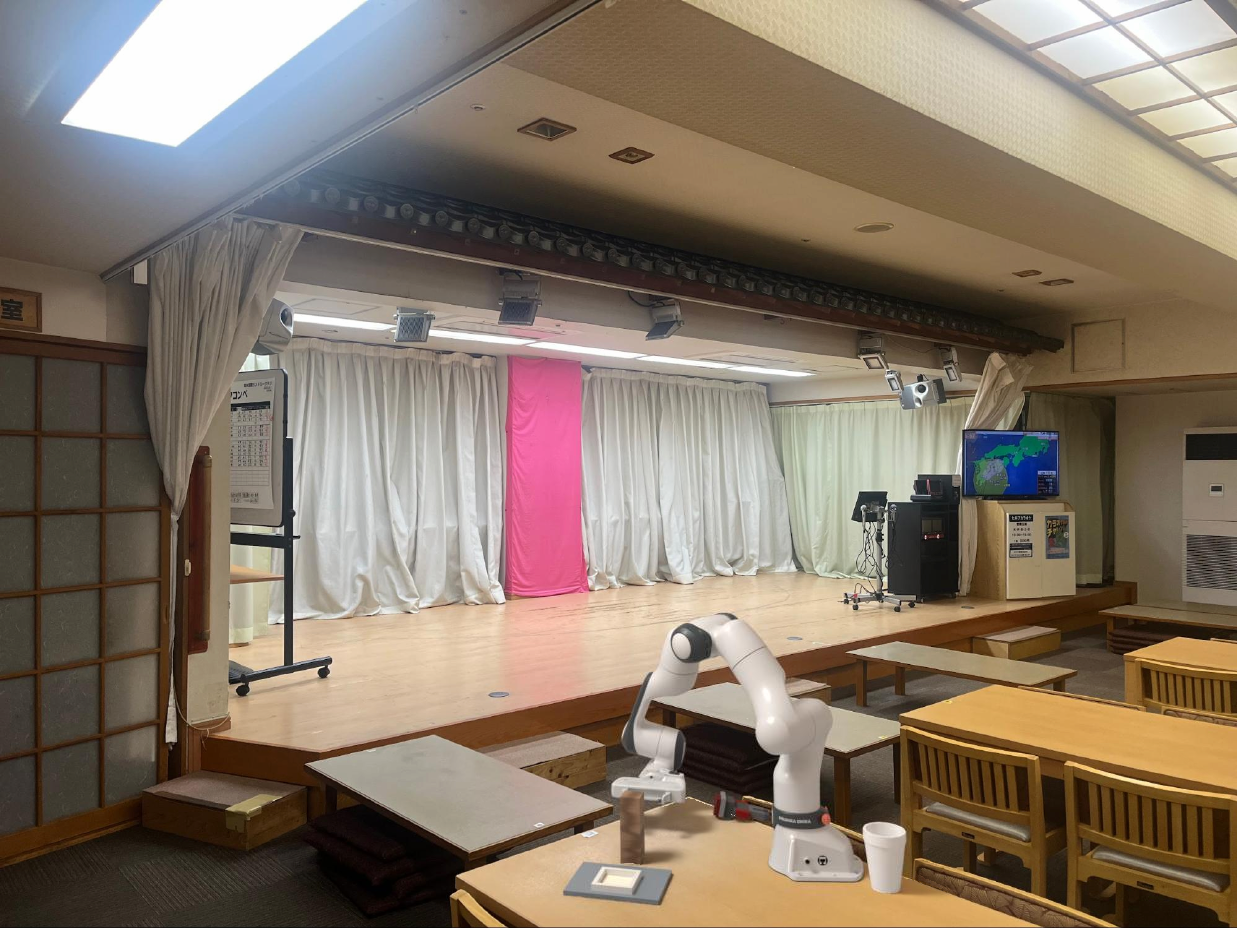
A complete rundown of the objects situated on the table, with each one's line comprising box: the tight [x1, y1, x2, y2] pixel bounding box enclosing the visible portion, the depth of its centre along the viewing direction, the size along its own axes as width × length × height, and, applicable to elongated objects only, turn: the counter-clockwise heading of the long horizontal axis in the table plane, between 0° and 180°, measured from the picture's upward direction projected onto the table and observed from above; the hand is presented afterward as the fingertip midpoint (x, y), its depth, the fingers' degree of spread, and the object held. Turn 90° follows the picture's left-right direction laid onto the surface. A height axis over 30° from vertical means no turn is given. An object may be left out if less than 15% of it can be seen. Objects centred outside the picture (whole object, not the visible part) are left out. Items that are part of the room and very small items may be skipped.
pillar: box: [619, 791, 646, 865], centre depth 213 cm, size 5×5×16 cm
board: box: [562, 861, 673, 906], centre depth 199 cm, size 22×16×1 cm
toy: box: [712, 791, 770, 822], centre depth 240 cm, size 9×6×15 cm
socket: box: [591, 867, 641, 895], centre depth 197 cm, size 10×10×2 cm
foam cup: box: [862, 821, 907, 895], centre depth 196 cm, size 10×9×13 cm
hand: (643, 799), depth 225 cm, fingers open, 8 cm apart
